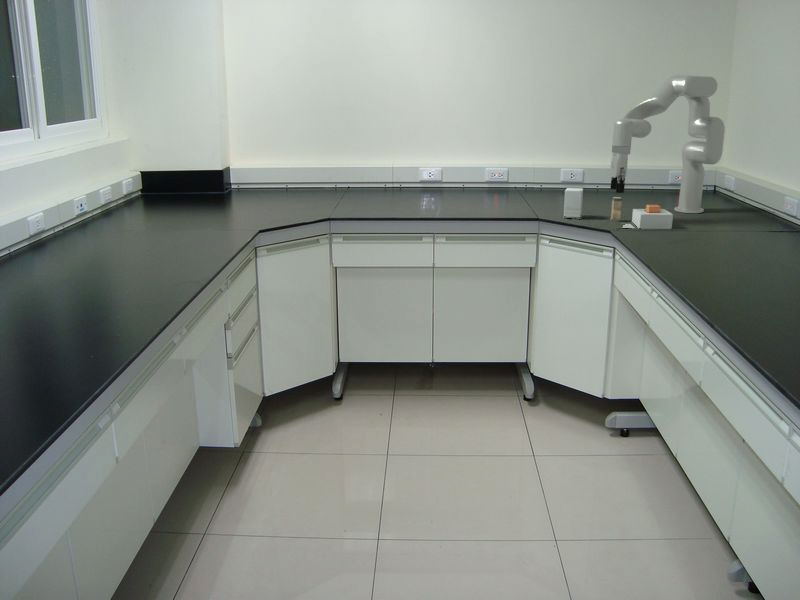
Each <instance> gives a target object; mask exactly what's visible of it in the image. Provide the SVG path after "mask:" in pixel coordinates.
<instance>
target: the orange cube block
mask: <svg viewBox="0 0 800 600" xmlns="http://www.w3.org/2000/svg"><path fill="white" fill-rule="evenodd" d="M645 209H646V211H645V212H647V213H660V209H662V208H661V206H660V205H659V204H646V205H645Z"/></svg>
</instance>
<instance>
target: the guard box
mask: <svg viewBox="0 0 800 600" xmlns="http://www.w3.org/2000/svg"><path fill="white" fill-rule="evenodd" d="M645 211H646V208H632V216H631V217H632V218H631V223H632V222H633V223H634V224H635V225H636V226H637V227H636V226H635V225H634V224H633V223H632V224H633V225H634V226H635V227H636V228H638V229H639V228H641V229H640V230H672V228H673V221H674V220H673V218H674V214H673V213H672V212H671V211H670V212H669V211H668V210H666V209H665V208H660V213H647V212H645Z"/></svg>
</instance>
